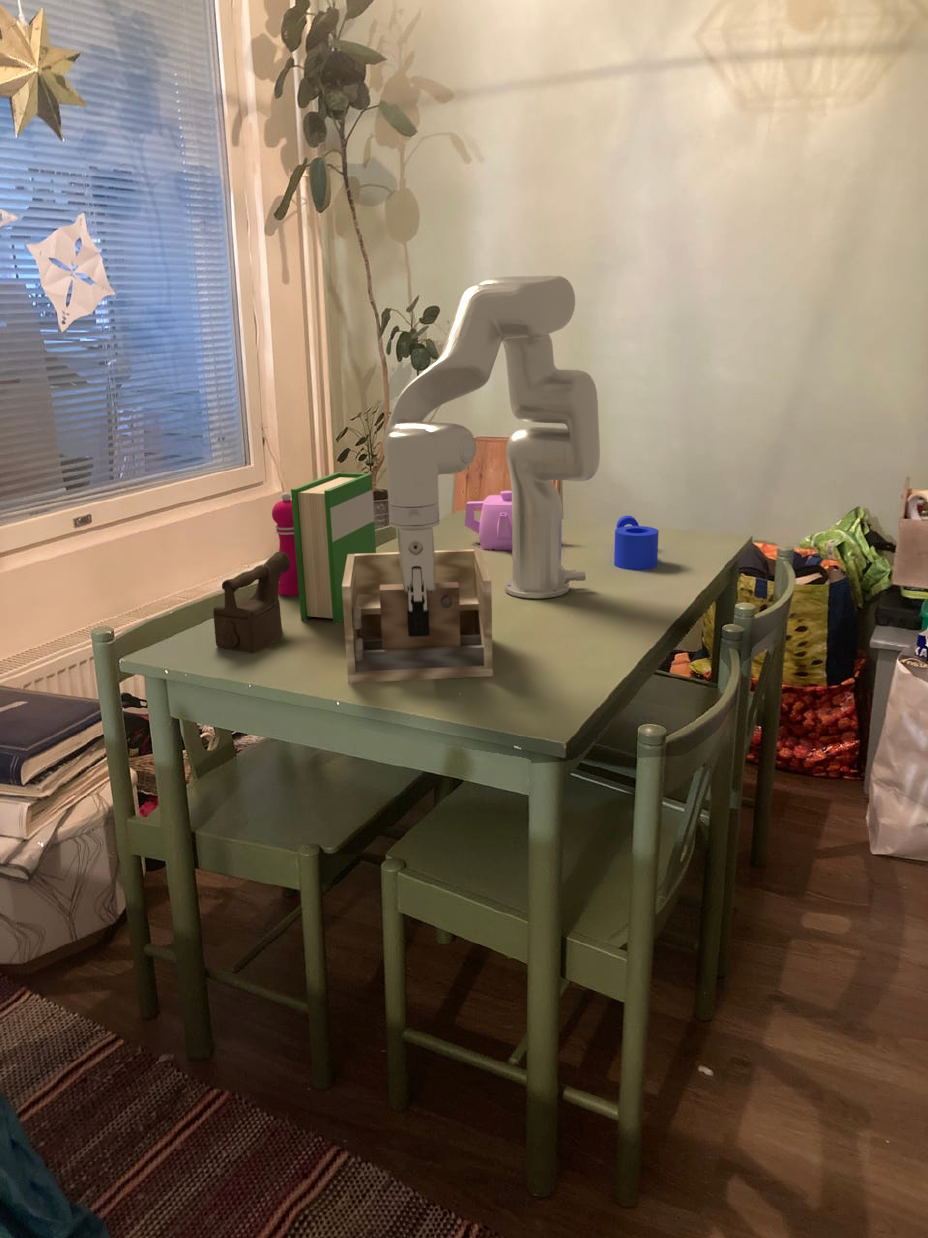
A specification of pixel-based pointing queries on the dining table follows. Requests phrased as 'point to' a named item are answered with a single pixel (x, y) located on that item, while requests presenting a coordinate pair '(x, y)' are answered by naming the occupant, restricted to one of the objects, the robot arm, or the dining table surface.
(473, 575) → the wooden shelf rack
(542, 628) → the dining table surface
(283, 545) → the pepper mill
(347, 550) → the hardback book
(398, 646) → the wooden block
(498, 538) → the teakettle
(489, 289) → the robot arm
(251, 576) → the clothes iron
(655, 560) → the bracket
